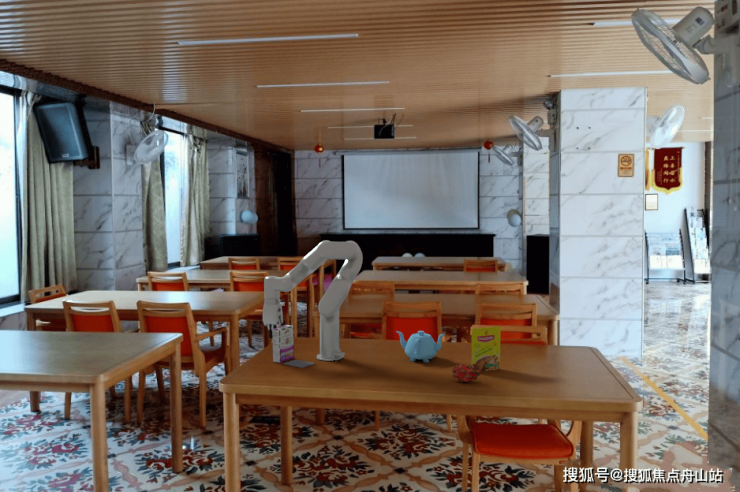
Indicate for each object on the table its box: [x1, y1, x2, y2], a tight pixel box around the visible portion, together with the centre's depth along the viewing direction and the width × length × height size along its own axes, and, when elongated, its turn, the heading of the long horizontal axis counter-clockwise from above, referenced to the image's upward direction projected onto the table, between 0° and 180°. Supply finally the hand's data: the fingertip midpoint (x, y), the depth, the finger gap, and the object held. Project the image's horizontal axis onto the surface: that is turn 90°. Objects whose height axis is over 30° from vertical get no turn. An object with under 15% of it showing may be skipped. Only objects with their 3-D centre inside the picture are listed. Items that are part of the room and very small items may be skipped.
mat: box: [282, 359, 315, 369], centre depth 283 cm, size 12×9×1 cm
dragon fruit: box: [451, 363, 481, 384], centre depth 254 cm, size 8×8×12 cm
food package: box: [470, 326, 502, 373], centre depth 271 cm, size 15×1×20 cm, turn 112°
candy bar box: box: [272, 324, 295, 364], centre depth 289 cm, size 11×5×16 cm, turn 150°
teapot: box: [395, 330, 446, 363], centre depth 291 cm, size 16×20×14 cm
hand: (272, 337), depth 294 cm, fingers closed
